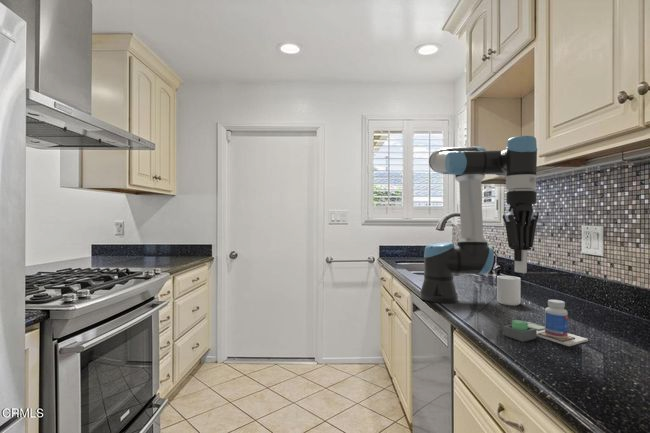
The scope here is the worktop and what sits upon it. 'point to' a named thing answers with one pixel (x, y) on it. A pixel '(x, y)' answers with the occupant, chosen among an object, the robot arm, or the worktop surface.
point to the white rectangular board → (567, 341)
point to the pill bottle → (556, 319)
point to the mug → (508, 290)
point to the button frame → (519, 333)
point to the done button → (519, 325)
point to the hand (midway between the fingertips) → (520, 272)
